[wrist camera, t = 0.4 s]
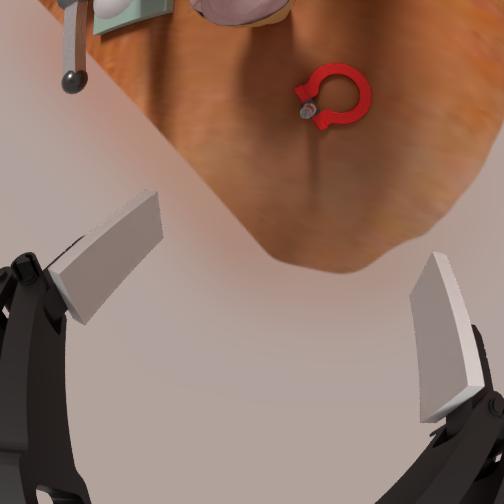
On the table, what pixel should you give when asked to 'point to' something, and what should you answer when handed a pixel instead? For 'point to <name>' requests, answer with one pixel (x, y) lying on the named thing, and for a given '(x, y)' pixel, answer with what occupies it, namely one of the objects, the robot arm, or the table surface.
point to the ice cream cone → (242, 11)
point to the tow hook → (327, 115)
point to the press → (126, 12)
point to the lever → (74, 45)
